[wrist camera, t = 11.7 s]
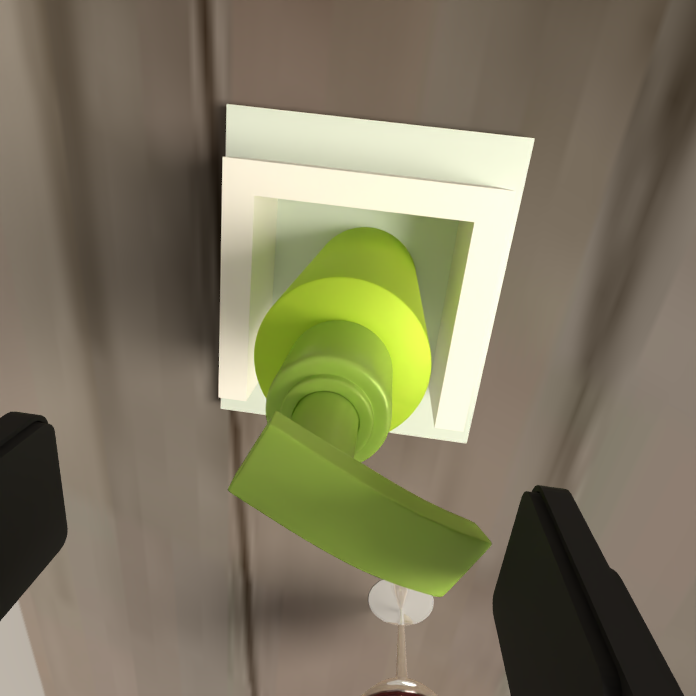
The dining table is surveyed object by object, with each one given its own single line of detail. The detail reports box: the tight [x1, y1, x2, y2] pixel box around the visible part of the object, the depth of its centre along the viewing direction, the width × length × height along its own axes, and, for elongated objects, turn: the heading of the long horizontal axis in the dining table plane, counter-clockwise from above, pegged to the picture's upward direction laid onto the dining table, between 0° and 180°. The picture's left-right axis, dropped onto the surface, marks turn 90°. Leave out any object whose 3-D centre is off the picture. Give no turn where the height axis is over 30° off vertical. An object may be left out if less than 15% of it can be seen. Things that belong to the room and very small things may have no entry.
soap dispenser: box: [228, 227, 492, 597], centre depth 19 cm, size 6×7×20 cm
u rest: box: [218, 104, 535, 443], centre depth 27 cm, size 18×16×6 cm
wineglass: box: [361, 580, 438, 696], centre depth 32 cm, size 7×7×12 cm
